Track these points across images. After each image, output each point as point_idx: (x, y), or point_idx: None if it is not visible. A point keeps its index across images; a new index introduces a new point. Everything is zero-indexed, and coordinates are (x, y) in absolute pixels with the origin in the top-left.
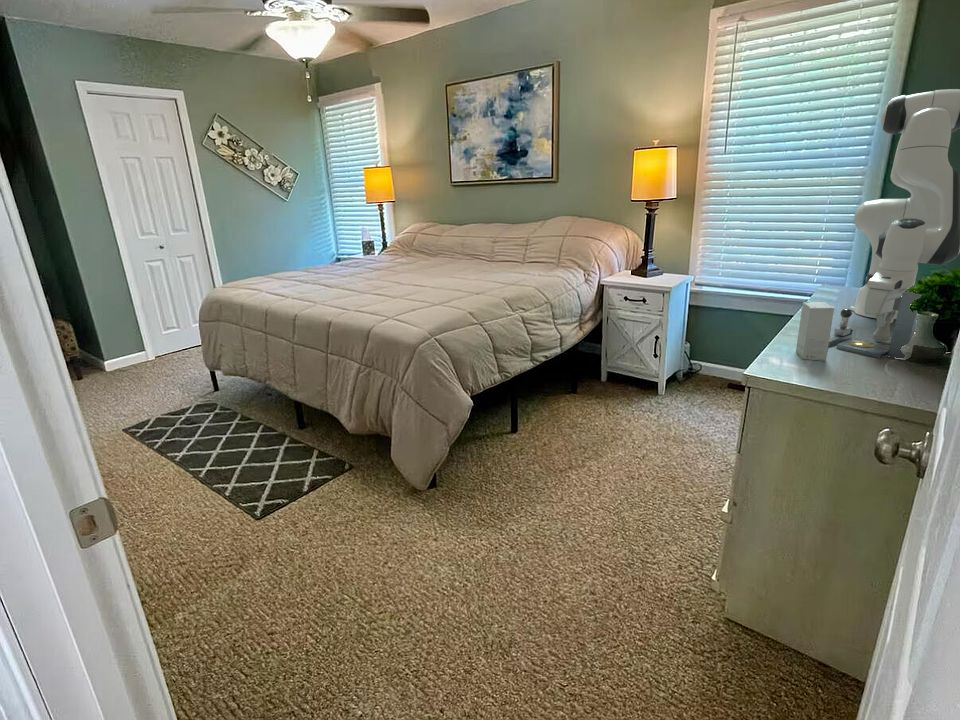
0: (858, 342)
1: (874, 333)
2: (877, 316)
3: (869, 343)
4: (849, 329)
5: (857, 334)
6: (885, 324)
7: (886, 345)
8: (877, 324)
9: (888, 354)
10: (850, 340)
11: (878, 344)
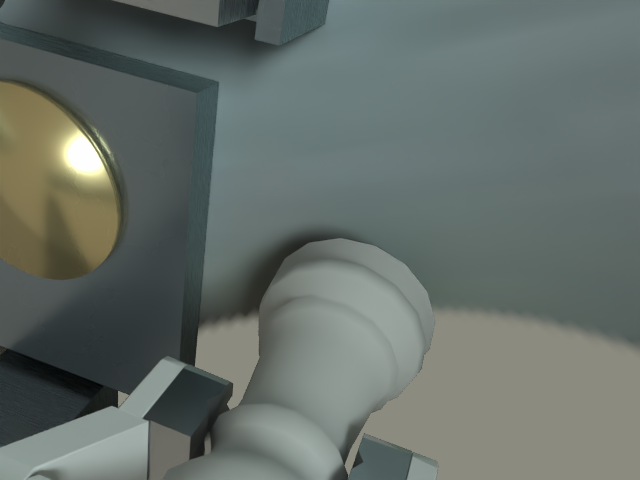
0: (29, 161)
1: (288, 282)
2: (22, 452)
3: (75, 243)
4: (184, 12)
5: (609, 35)
6: (207, 449)
7: (158, 349)
8: (154, 375)
9: (10, 351)
10: (73, 74)
11: (141, 299)
